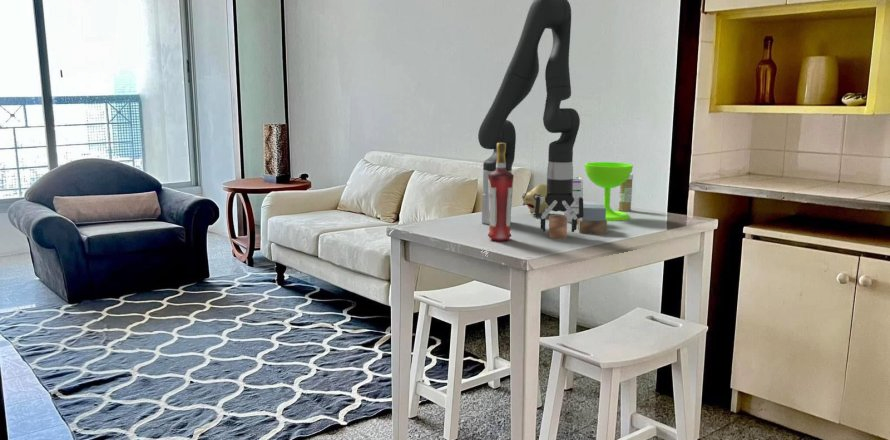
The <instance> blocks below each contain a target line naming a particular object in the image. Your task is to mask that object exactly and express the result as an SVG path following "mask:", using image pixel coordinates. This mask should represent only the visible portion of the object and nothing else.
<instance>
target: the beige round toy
mask: <svg viewBox="0 0 890 440" xmlns="http://www.w3.org/2000/svg"><path fill="white" fill-rule="evenodd" d="M546 195H547V184H545V183H540V184H538V185H536V186H535V187H533V188H532V189H531V190H530V191H527V192H525V193H523V194H522V197H521V198H522V201H523V203H524V204H525V205H526V206H527V208H528V209H529V213H530V214H535V204H536V196H540V197H546ZM547 206H548V204H547V203H546V202H545V201H543V203H542V204H540V208H539V213H543V212H544V210H545V209H546V208H547ZM551 211H552V210H551ZM551 211H550V212H551Z"/></svg>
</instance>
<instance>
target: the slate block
mask: <svg viewBox="0 0 890 440" xmlns="http://www.w3.org/2000/svg"><path fill="white" fill-rule="evenodd" d="M583 212H584V216H583V217H582V218H581V220H582V221H605V220H606V208H605V206H604V204H584V203H583Z"/></svg>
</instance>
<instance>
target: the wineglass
mask: <svg viewBox="0 0 890 440" xmlns="http://www.w3.org/2000/svg"><path fill="white" fill-rule="evenodd" d="M633 166H634V165H633V164H632V163H631V164H630V163H625V162H613V161H609V162H607V161H597V162H596V161H594V162H585V163H584V169H585V173H586V175H587V178H589V180H590V181H591V182H592V183H593V184H594V185H596V186H598V187H600V188H603V189H604V196H603V197H604V198H603V205H604V206H605V208H606V221H607V222H620V221H619V220H623V221H628V220H630V219H631V216H630V215H629V214H628V213H627V212H625V211H620V210H612V208H611V205H610V203H611V189H613V188H616V187H620V185H621V184H623V183H624V182H625V181H626V180H627V179H628V178H629V176H630V174H632V172H633V169H634V168H633Z"/></svg>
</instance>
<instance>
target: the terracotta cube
mask: <svg viewBox="0 0 890 440" xmlns="http://www.w3.org/2000/svg"><path fill="white" fill-rule="evenodd" d="M548 215H549V214H548ZM567 231H568V222H567V216H564V215H556V214H555V215H554V214H553V215H552V214H551V215H549V218H548V238H549V239H567V237H568V236H567V235H568V233H567Z"/></svg>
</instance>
